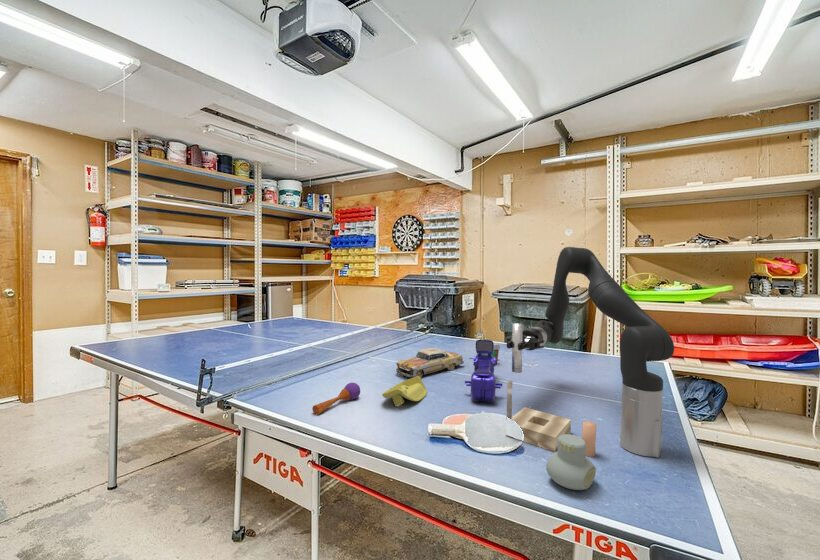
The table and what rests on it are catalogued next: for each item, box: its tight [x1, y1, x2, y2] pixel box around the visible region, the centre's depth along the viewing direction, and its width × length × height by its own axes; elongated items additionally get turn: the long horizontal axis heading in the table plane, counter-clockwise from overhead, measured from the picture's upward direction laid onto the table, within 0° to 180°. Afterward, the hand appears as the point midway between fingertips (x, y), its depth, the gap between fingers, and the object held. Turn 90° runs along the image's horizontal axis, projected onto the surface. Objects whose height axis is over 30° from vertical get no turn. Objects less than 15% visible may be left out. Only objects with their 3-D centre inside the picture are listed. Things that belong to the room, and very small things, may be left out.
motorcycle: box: [464, 339, 503, 403], centre depth 144 cm, size 35×14×18 cm, turn 168°
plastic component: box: [381, 376, 428, 407], centre depth 132 cm, size 20×7×10 cm
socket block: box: [506, 380, 572, 453], centre depth 106 cm, size 14×14×16 cm
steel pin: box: [511, 322, 524, 374], centre depth 122 cm, size 3×3×16 cm
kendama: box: [312, 382, 361, 416], centre depth 128 cm, size 6×6×20 cm
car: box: [395, 347, 465, 379], centre depth 167 cm, size 12×34×10 cm, turn 129°
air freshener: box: [545, 433, 597, 491], centre depth 84 cm, size 11×8×10 cm
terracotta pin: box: [581, 420, 597, 458], centre depth 96 cm, size 3×3×8 cm
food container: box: [481, 344, 501, 366], centre depth 178 cm, size 12×6×10 cm, turn 47°
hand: (513, 346), depth 120 cm, fingers closed on steel pin, 3 cm apart
